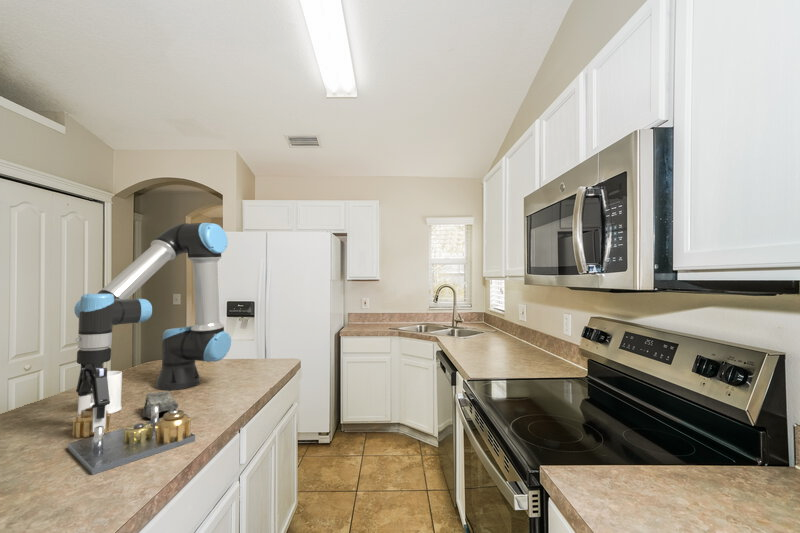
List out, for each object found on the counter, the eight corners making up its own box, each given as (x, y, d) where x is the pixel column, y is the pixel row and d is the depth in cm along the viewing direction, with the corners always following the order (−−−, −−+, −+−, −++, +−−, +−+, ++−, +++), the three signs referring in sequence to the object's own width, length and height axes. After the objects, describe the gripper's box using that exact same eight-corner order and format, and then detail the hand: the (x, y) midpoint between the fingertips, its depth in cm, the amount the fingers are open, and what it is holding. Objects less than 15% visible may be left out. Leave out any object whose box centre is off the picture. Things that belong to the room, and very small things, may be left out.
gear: (104, 423, 112) (105, 402, 112) (114, 430, 107) (115, 408, 107) (68, 432, 105) (69, 410, 105) (77, 440, 100) (78, 417, 100)
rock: (180, 415, 119) (180, 394, 119) (149, 424, 112) (149, 402, 112) (163, 406, 127) (163, 386, 127) (133, 413, 120) (133, 393, 120)
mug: (85, 421, 113) (87, 381, 114) (70, 416, 117) (71, 377, 117) (127, 408, 124) (128, 372, 124) (111, 405, 127) (113, 369, 128)
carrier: (163, 422, 113) (164, 394, 113) (196, 441, 101) (197, 410, 101) (67, 449, 95) (68, 416, 96) (93, 475, 83) (94, 437, 83)
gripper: (65, 344, 111) (61, 417, 110) (91, 355, 96) (87, 440, 95) (97, 341, 117) (93, 410, 116) (126, 351, 102) (122, 431, 101)
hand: (90, 424), depth 106 cm, fingers open, 13 cm apart
